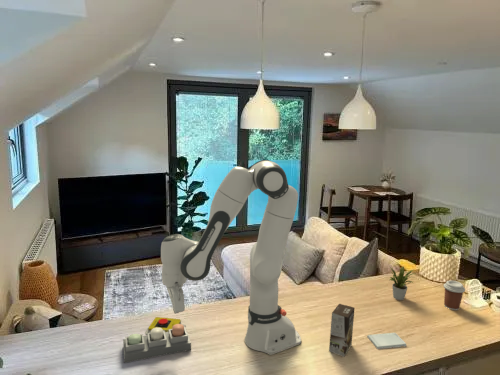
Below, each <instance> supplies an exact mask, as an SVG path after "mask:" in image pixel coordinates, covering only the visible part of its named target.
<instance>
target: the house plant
mask: <svg viewBox="0 0 500 375" xmlns="http://www.w3.org/2000/svg"><path fill="white" fill-rule="evenodd" d="M389 268H390V269H391V271H390V273H391V274H392V276H390V277H389V281H393V282H394V283H393V284H392V298H394V299H395V300H398V301H404V300H405V297H406V295H407V290H408V286H407V285H409V284H411V283H413V281H412V280H409V279H410V278H412V276H413V275H415V273H413V271H414V269H411V270H409V271H408V272H405V267H404V266H401V267H399V266H398V268H399V273H398V275H397V274H396V271H395V270H394V269H393V268H392V267H391V266H389ZM404 274H405V275H404ZM413 278H415V277H414V276H413Z"/></svg>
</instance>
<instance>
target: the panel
mask: <svg viewBox="0 0 500 375" xmlns="http://www.w3.org/2000/svg"><path fill="white" fill-rule="evenodd" d="M139 334H140V333H139ZM140 335H141V343H139V344H134V345H129V342H128V337H129V336H130V335H129V336H125V338H124V339H122V340H123V341H122V342H123V344H122V345H123V363H124V364H125V363H131V362H136V361H141V360H146V359H150V358H156V357H162V356H165V355H166V356H167V355H172V354H177V353H181V352H187V351H191V350H192V341H191V338H190V336H189V333H188V330H187V328H186V327H184V335H183V336H178V337H173V335H172V329H169V332H165V331H164V330H163V339H161V340H156V341H152V340H151V333H147V335H146V334H145V335H144V334H143V333H141V334H140Z"/></svg>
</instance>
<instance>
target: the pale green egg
mask: <svg viewBox="0 0 500 375" xmlns="http://www.w3.org/2000/svg"><path fill="white" fill-rule="evenodd" d="M127 337H128V336H127ZM128 342H129V345H134V344H139V343H141V335H140V333H132V334H130V335H129V337H128Z"/></svg>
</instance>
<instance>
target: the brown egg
mask: <svg viewBox="0 0 500 375" xmlns="http://www.w3.org/2000/svg"><path fill="white" fill-rule="evenodd" d="M183 325H184V324H182V323H181V324H176V325H174V326H173V327H172V335H173V337H178V336H183V335H184V326H183Z"/></svg>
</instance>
